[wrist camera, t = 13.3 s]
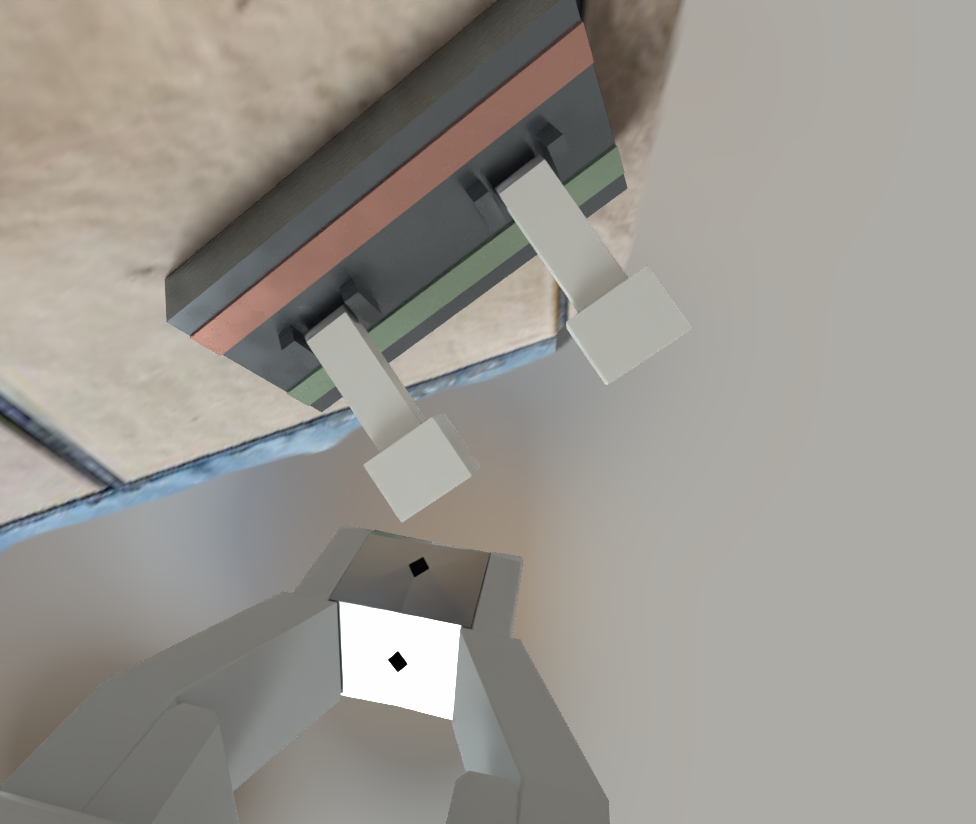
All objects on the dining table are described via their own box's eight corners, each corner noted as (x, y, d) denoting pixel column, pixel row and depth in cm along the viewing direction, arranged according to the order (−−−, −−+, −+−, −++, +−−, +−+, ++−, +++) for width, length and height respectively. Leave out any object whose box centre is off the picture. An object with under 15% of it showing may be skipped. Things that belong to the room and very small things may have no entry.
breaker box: (164, 279, 30) (167, 338, 27) (534, -31, 26) (587, -3, 23) (311, 374, 39) (325, 426, 36) (596, 160, 35) (639, 198, 32)
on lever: (475, 190, 27) (609, 384, 27) (552, 130, 27) (692, 328, 26) (484, 209, 30) (605, 384, 30) (554, 156, 30) (680, 334, 29)
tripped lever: (280, 341, 30) (401, 522, 29) (346, 289, 29) (472, 476, 28) (306, 344, 33) (416, 509, 32) (367, 298, 32) (480, 467, 31)
